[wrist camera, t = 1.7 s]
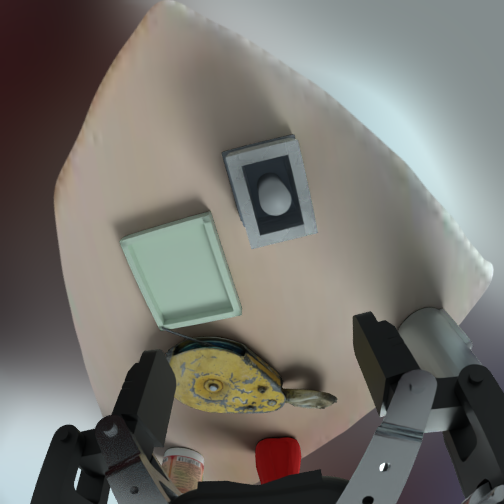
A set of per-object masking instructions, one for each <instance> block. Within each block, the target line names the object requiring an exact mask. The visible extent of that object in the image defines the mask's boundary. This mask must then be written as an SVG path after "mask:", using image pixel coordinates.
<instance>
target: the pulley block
mask: <svg viewBox="0 0 504 504" xmlns="http://www.w3.org/2000/svg"><path fill="white" fill-rule="evenodd" d="M161 329H163V330H166V331H168V332H171V333H173V334H176V335H179V336H181V337H184V338H186V339H187V340H185V341H182V342H180V343H179V344H177V345H176V346H174V347H172V348H171V349H170V350H168V353H165V354H167V355H166V359H167V361H168V362H169V364H170V366H171V368H172V370H173V372H174V374H175V377H176V391H175V395H174V397H175V398H176V399H177V400H178V401H180V402H181V403H183V404H186V405H188V406H190V407H192V408H195V409H198V410H202V411H207V412H212V413H267V412H272V411H276V410H278V409H280V408H281V407H283V405H284V403H290V404H291V405H293V406H297V407H303V408H319V409H321V408H322V409H325V407H328V406H330V405H332V404H333V403H334V402H337V398H336V397H335V396H333V395H331V394H329V393H325V392H320V391H315V390H302V389H283V388H282V385H283V380H282V378H281V377H280V375H279V374H278V372H277V371H276V370H274V369H273V368H272V367H271V366H269V365H268V364H267V363H266V362H264V361H263V360H262V359H261V358H259V357H258V356H257V355H256V354H254V353H253V352H252V351H251V350H250V349H248V348H247V347H246V346H245V345H244V344H241V343H239V342H236V341H232V340H229V339H225V338H218V337H198V338H191V337H188V336H185V335H182V334H179V333H176V332H173V331H170V330H168V329H164V328H161Z"/></svg>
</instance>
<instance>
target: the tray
mask: <svg viewBox="0 0 504 504" xmlns="http://www.w3.org/2000/svg"><path fill="white" fill-rule="evenodd" d="M119 242H120V244H121V247H122V249H123V252H124V254H125V256H126V259H127V261H128V263H129V266H130V268H131V270H132V272H133V275H134V277H135V279H136V281H137V284H138V286H139V288H140V290H141V292H142V294H143V296H144V299H145V301H146V303H147V305H148V307H149V309H150V311H151V313H152V315H153V317H154V319H155V321H156V323H157V325H158V327H159V329H160V331H163V329H161V328H164V329H168V330H169V329H174V328H180V327H185V326H190V325H196V324H201V323H206V322H211V321H216V320H221V319H225V318H230V317H235V316H240V315H242V306H241V303H240V300H239V297H238V294H237V291H236V288H235V285H234V282H233V279H232V276H231V273H230V270H229V267H228V264H227V261H226V258H225V255H224V252H223V249H222V246H221V242H220V239H219V236H218V233H217V230H216V227H215V224H214V220H213V217H212V214H211V211H209V212H205V213H201V214H198V215H194V216H191V217H187V218H184V219H180V220H177V221H173V222H170V223H167V224H163V225H160V226H157V227H153V228H150V229H147V230H143V231H140V232H137V233H134V234H130V235H127V236H124V237H123V238H122V239H121V240H120V241H119Z"/></svg>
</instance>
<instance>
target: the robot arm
mask: <svg viewBox="0 0 504 504" xmlns="http://www.w3.org/2000/svg"><path fill="white" fill-rule="evenodd" d="M353 346H354V352H355V356H356V359H357V361H358V363H359V366H360V368H361V371H362V373H363V376H364V378H365V381H366V383H367V386H368V388H369V391H370V393H371V396H372V399H373V401H374V404H375V406H376V409H377V412H378V414H379V417H382V416H385V417H384V420H383V422H382V424H381V426H379V427H378V428H377V430H376V432H375V434H374V436H373V438H372V440H371V442H370V444H369V446H368V448H367V450H366V452H365V454H364V456H363V458H362V460H361V461H360V463H359V465H358V467H357V469H356V471H355V473H354V474H353V476H352V478H351V480H350V481H349V480H346V479H342V478H338V477H332V476H322V474H321V470H315V471H309V472H304V473H298V474H291V475H288V476H285V477H282V478H279V479H276V480H273V481H271V482H268V483H264V484H261V485H250V484H243V483H236V482H230V481H198V486H197V489H194V490H191V491H188V492H186V493H184V494H182V493H181V492H180V491H179V490H178V489H177V488H176V486H175V485H174V484H173V482H172V481H171V479H170V478H169V477H168V475H167V474H166V472H165V471H164V469H163V467H162V466H161V464H160V463H159V461H158V460H157V458H156V456H155V455H154V454H153V448H154V447H164V443H165V438H166V433H167V428H168V423H169V419H170V414H171V409H172V404H173V400H174V395H175V391H176V377H175V374H174V372H173V370H172V368H171V366H170V364H169V362H168V361H167V359H166V357H165V355H164V353H163V351H162V350H160V349H159V350H149V351H144V352H143V353H142V356H141V358H140V361H139V363H135V364H134V365H133V366H132V368H131V369H130V370H129V371H128V373H127V376H126V378H125V382H124V383H123V386H122V390H121V391H120V393H119V396H118V399H117V401H116V404H115V407H114V409H113V412H112V415H109V416H106V417H104V418H102V419H101V420H100V421H99V422H98V423H97V425H96V427H95V429H91V430H87V431H82V432H80V431H79V430H78V429H77V428H76V427H75V426H73V425H64V426H62V427H60V428H59V429H58V430H57V431H56V432H55V434H54V436H53V438H52V441H51V443H50V446H49V449H48V451H47V454H46V457H45V460H44V463H43V466H42V468H41V471H40V474H39V477H38V480H37V483H36V487H35V490H34V493H33V496H32V500H31V503H30V504H107V501H108V495H109V491H110V487H111V489H112V492H113V494H114V496H115V498H116V500H117V502H118V504H396V502H397V500H398V498H399V496H400V494H401V492H402V489H403V487H404V485H405V483H406V480H407V478H408V476H409V473H410V471H411V468H412V466H413V464H414V461H415V458H416V456H417V453H418V450H419V448H420V445H421V442H422V438H423V433H427V432H438V431H442V432H443V437H444V442H445V445H446V448H447V450H448V452H449V455H450V457H451V460H452V463H453V465H454V468H455V471H456V474H457V477H458V480H459V483H460V486H461V489H462V492H463V494H464V496H465V498H466V499H465V500H464V501H463V502H462V504H504V393H503V391H502V390H501V388H500V387H499V385H498V383H497V382H496V380H495V378H494V377H493V375H492V374H491V372H490V371H489V370H488V369H487V368H486V367H484V366H483V365H482V364H481V363H480V361H479V360H478V359H477V358H476V356H475V355H474V353H473V352H472V351H471V349H472V341H471V340H470V339H469V338H468V337H467V335H466V334H465V333H464V332H463V331H462V329H461V328H460V327H459V326H458V325H457V323H456V322H455V321H454V320H453V319H452V318H451V316H450V315H449V314H448V313H447V312H446V311H445V310H444V309H443V308H442V309H439V310H438V309H435V308H430V307H429V308H423V309H420V310H418V311H416V312H414V313H413V314H412V315H410V316H409V317H408V318H407V319H406V320H405V321H404V322H403V323H402V325H401V326H400V328H399V330H398V331H397V329H396V328H395V326H393V325H392V324H390V323H389V322H387V321H386V320H384V321H380V322H378V321H377V320H376V318H375V316H374V315H373V313H372V312H371V311H370V312H366V313H362V314H358V315H354V316H353ZM78 468H80V469H81V474H80V477H79V481H78V485H77V489H76V490H75V488H74V481H75V477H76V474H77V470H78Z"/></svg>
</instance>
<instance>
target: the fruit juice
mask: <svg viewBox="0 0 504 504" xmlns="http://www.w3.org/2000/svg"><path fill="white" fill-rule="evenodd" d="M162 467H163V469H164V471H165V472H166V474H167V475H168V477H169V478H170V479H171V481H172V482H173V484H174V485H175V486H176V488H177V489H178V490H179V491H180V492H181V493H182V494H184V493H186V492H188V491H191V490H194V489H197V486H198V481H202V480H203V469H204V458H203V456H202V455H201V454H199V453H198V452H196V451H193V450H190V449H186V448H170V449H168V450H167V451H166V452H165V454H164V458H163V463H162Z"/></svg>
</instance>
